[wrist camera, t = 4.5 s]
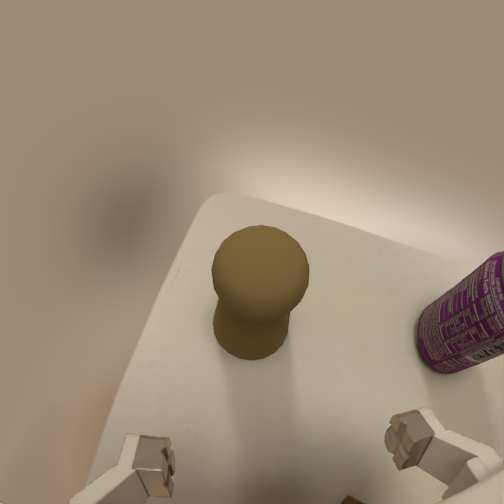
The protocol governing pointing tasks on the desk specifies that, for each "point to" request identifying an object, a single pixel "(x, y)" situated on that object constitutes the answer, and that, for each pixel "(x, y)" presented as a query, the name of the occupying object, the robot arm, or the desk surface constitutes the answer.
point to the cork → (257, 289)
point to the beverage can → (466, 320)
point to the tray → (351, 501)
